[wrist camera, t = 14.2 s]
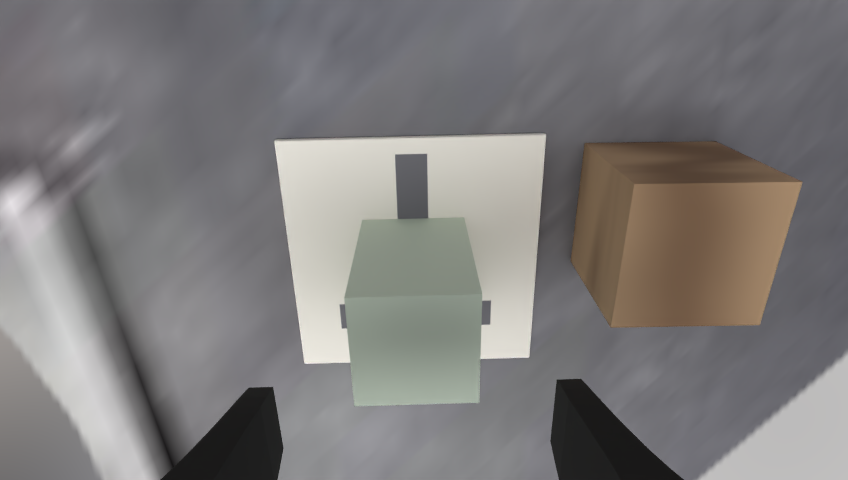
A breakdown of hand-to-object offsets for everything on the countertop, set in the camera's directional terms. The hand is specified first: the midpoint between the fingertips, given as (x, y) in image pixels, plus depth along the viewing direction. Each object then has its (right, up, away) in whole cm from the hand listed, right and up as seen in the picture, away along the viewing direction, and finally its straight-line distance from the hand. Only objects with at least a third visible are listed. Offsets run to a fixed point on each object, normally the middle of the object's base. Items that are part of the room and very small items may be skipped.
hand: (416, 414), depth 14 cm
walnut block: (+9, +6, +8) cm, 13 cm away
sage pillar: (0, +3, +8) cm, 9 cm away
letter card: (0, +4, +8) cm, 9 cm away
